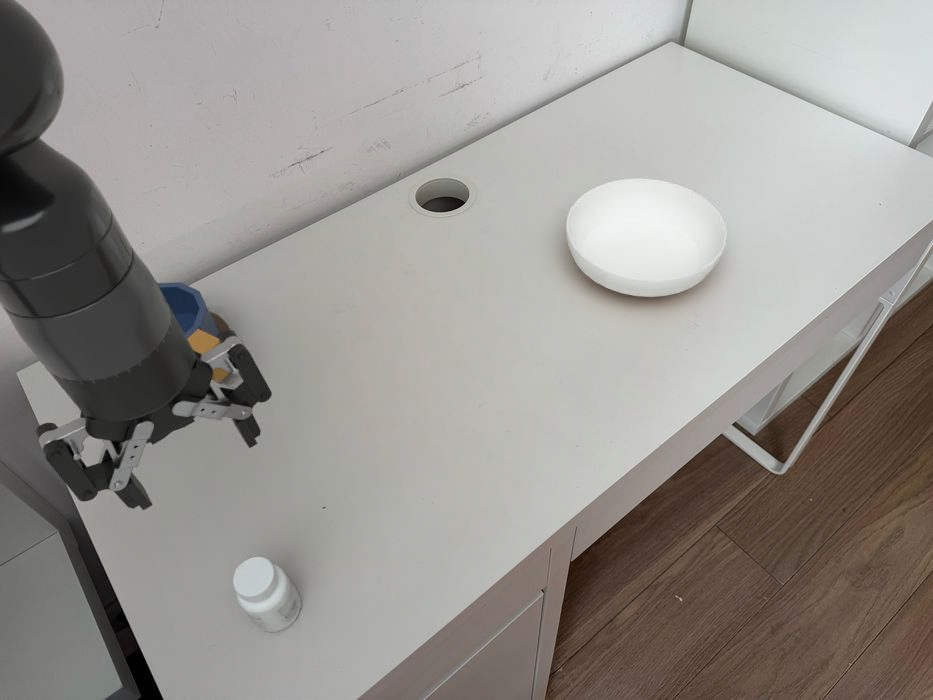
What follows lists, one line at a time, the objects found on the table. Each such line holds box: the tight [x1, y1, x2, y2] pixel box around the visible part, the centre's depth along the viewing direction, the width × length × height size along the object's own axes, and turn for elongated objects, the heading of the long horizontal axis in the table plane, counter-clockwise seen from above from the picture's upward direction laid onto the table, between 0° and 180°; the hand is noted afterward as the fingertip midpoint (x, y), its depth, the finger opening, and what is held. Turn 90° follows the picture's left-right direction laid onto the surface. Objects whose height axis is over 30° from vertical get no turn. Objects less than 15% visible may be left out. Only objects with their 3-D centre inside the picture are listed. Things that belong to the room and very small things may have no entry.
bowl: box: [565, 177, 728, 298], centre depth 87 cm, size 20×20×6 cm
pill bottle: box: [232, 556, 302, 633], centre depth 60 cm, size 4×4×8 cm
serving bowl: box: [157, 281, 231, 384], centre depth 80 cm, size 15×12×5 cm
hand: (198, 468), depth 53 cm, fingers open, 8 cm apart
